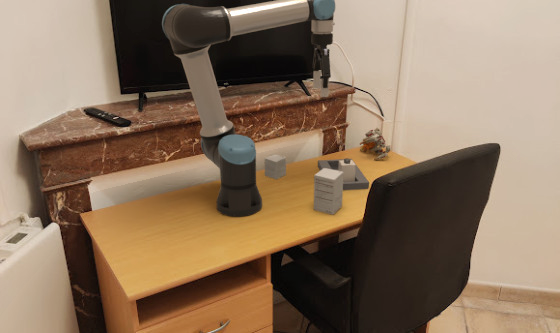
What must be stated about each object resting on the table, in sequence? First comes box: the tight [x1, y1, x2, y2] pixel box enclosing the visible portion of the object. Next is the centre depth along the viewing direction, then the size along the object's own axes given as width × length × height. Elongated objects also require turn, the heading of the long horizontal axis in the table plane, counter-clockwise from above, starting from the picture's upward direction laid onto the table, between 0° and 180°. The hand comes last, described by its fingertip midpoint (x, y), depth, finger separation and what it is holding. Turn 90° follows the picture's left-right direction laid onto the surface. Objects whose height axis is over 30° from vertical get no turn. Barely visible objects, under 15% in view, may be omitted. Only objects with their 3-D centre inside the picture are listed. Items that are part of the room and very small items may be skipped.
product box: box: [264, 153, 287, 180], centre depth 180 cm, size 6×6×7 cm
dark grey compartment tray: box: [317, 158, 370, 191], centre depth 179 cm, size 14×24×2 cm, turn 7°
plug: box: [338, 158, 357, 182], centre depth 172 cm, size 5×5×9 cm
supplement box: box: [313, 168, 344, 215], centre depth 153 cm, size 7×7×13 cm
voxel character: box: [359, 127, 391, 161], centre depth 198 cm, size 11×10×15 cm
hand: (320, 92), depth 172 cm, fingers open, 13 cm apart
